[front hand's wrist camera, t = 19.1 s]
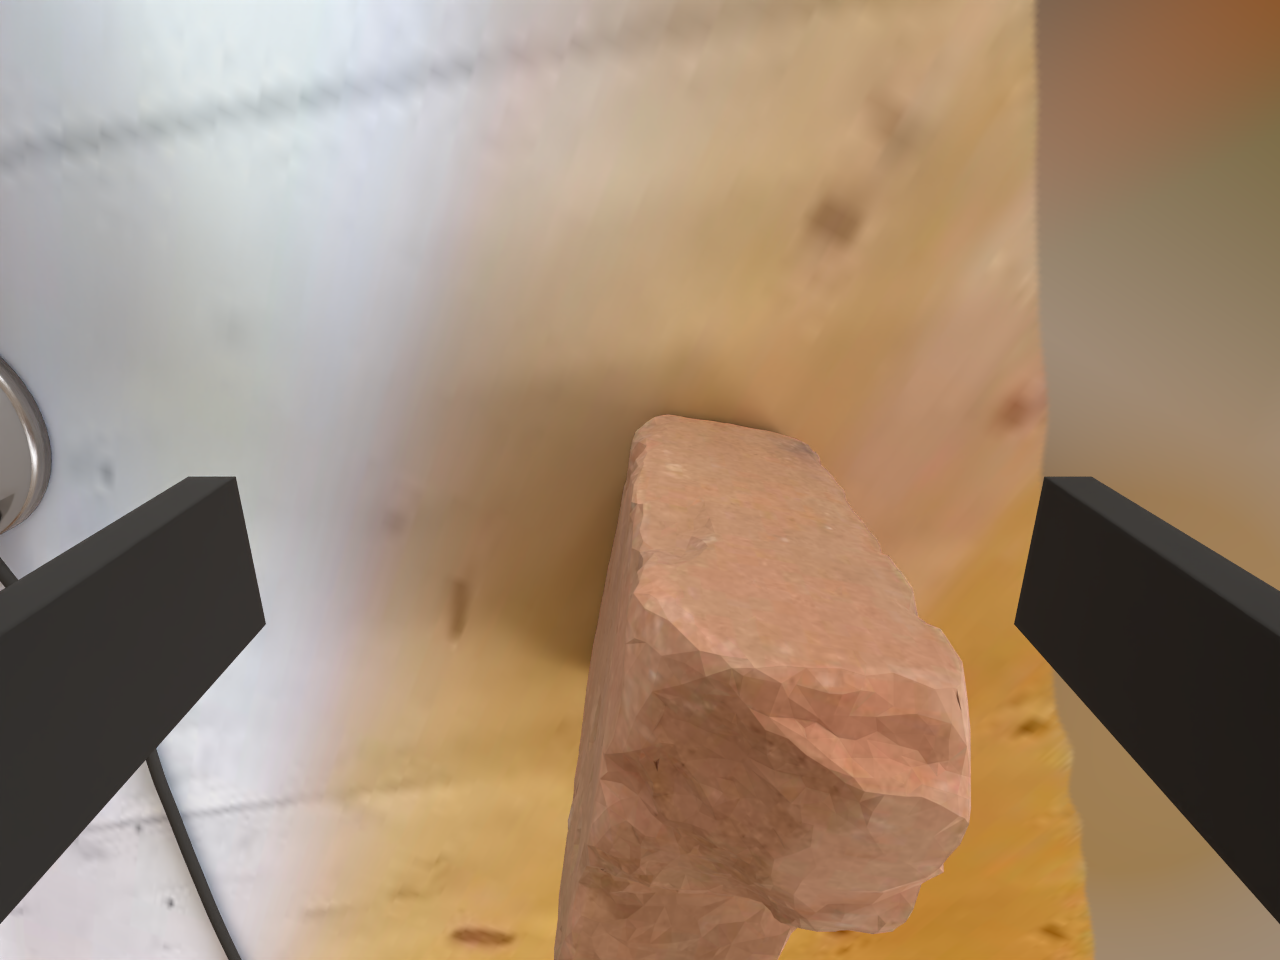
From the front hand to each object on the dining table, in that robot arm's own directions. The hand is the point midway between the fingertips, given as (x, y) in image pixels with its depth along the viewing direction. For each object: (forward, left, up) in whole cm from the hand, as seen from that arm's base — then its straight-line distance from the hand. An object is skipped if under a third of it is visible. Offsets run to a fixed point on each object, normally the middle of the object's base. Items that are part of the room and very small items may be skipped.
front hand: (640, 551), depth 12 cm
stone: (-17, -3, -34) cm, 38 cm away
